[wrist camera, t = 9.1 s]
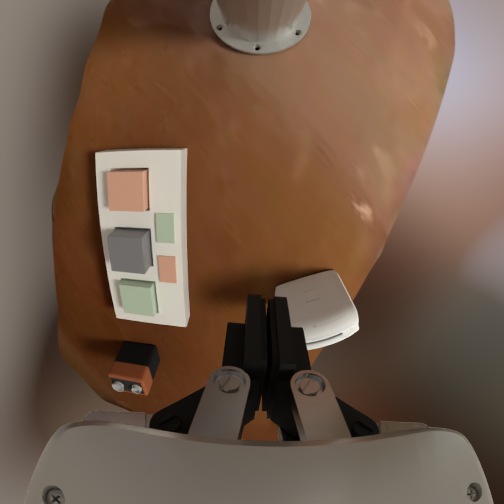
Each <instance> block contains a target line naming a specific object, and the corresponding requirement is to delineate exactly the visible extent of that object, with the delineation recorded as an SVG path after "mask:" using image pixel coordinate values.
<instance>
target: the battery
mask: <svg viewBox="0 0 504 504" xmlns="http://www.w3.org/2000/svg"><path fill="white" fill-rule="evenodd" d="M159 362H160V360H159V355H158V351H157V347H156V346H154V345H147V344H139V343H132V342H124V343H123V345H122V347H121V349H120V351H119V353H118V355H117V357H116V359H115V361H114V363H113V365H112V367H111V369H110V371H109V373H108V376H109V378H110V380H111V383H112V387H113V389H115V390H117V391H119V392H121V391H125V392H130V393H136V394H141V395H148V394H149V391H150V388H151V385H152V382H153V379H154V376H155V373H156V370H157V367H158V365H159Z"/></svg>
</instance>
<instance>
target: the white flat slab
mask: <svg viewBox="0 0 504 504" xmlns="http://www.w3.org/2000/svg"><path fill="white" fill-rule="evenodd" d="M95 159H96V181H97V196H98V208H99V218H100V227H101V235H102V242H103V249H104V256H105V262H106V268H107V274H108V280H109V285H110V290H111V295H112V300H113V304H114V309H115V313H116V318H121V319H128V320H135V321H141V322H149V323H156V324H164V325H172V326H181V327H186V326H187V323H188V320H189V317H190V310H189V292H188V269H187V230H186V179H187V148H138V149H116V150H104V151H100V152H96V153H95ZM117 168H149V205H150V207H149V208H148V209H146V210H145V211H144V212H135V211H109V202H108V187H107V172H110V171H112V170H115V169H117ZM116 228H132V229H150V241H151V254H152V264H151V266H150V267H149V269H148V270H147V272H146V273H145V274H137V273H127V272H118V271H112V269H111V263H110V256H109V250H108V242H107V236H108V235H109V234H110V233H111V232H113V231H114V230H115V229H116ZM123 278H127V279H136V280H145V281H155V285H156V294H157V302H158V310H157V312H156V314H155V316H154V317H153V316H145V315H138V314H131V313H124V309H123V304H122V299H121V294H120V288H119V284H120V282H121V281H122V280H123Z"/></svg>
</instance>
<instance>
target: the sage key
mask: <svg viewBox="0 0 504 504" xmlns="http://www.w3.org/2000/svg"><path fill="white" fill-rule="evenodd" d="M119 288H120V294H121V299H122V304H123V309H124V313H131V314H138V315H145V316H153V317H154V316H155V314H156V312H157V310H158V302H157V294H156V285H155V281H145V280H136V279H127V278H123V280H122V281H121V282H120V284H119Z"/></svg>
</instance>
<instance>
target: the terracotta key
mask: <svg viewBox="0 0 504 504" xmlns="http://www.w3.org/2000/svg"><path fill="white" fill-rule="evenodd" d="M107 187H108V202H109V211H135V212H144V211H145V210H146V209H148V208H149V207H150V205H149V168H117V169H115V170H112V171H110V172H107Z"/></svg>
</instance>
